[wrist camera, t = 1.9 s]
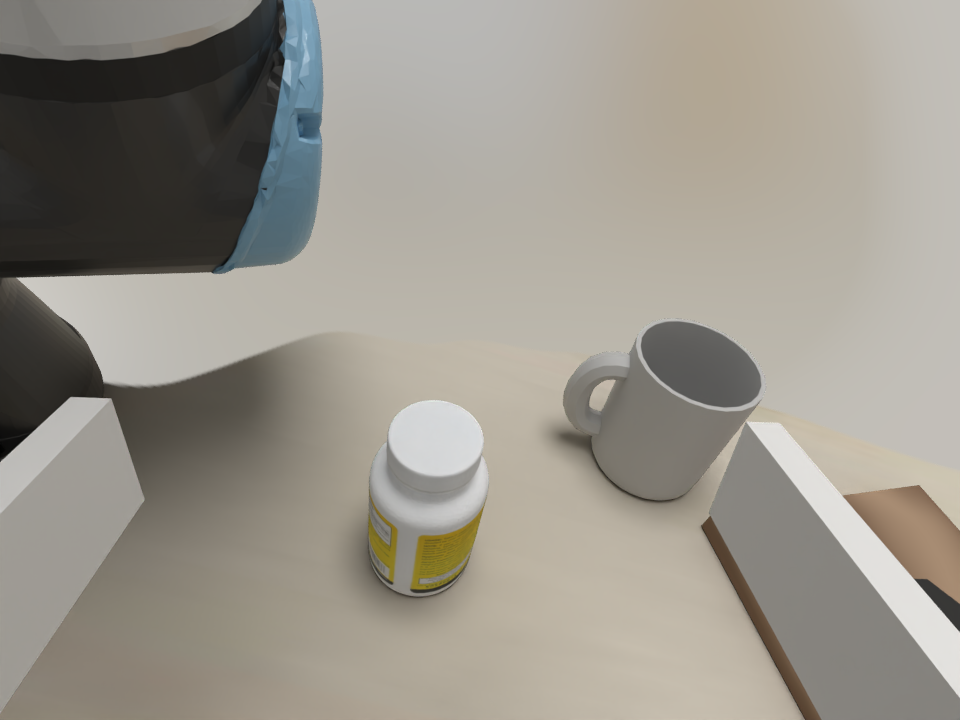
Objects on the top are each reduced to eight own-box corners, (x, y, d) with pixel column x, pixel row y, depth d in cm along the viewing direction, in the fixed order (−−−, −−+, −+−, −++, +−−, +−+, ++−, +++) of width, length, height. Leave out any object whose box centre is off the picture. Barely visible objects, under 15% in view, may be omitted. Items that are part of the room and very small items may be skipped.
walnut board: (831, 768, 24) (853, 762, 23) (701, 525, 32) (712, 513, 31) (1072, 696, 28) (1099, 688, 27) (903, 497, 36) (918, 485, 35)
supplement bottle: (482, 523, 30) (517, 412, 23) (448, 616, 26) (477, 515, 20) (394, 489, 31) (404, 372, 24) (348, 574, 27) (344, 463, 20)
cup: (701, 516, 33) (779, 426, 27) (542, 477, 33) (583, 378, 27) (689, 427, 38) (753, 335, 32) (552, 394, 38) (589, 295, 32)
